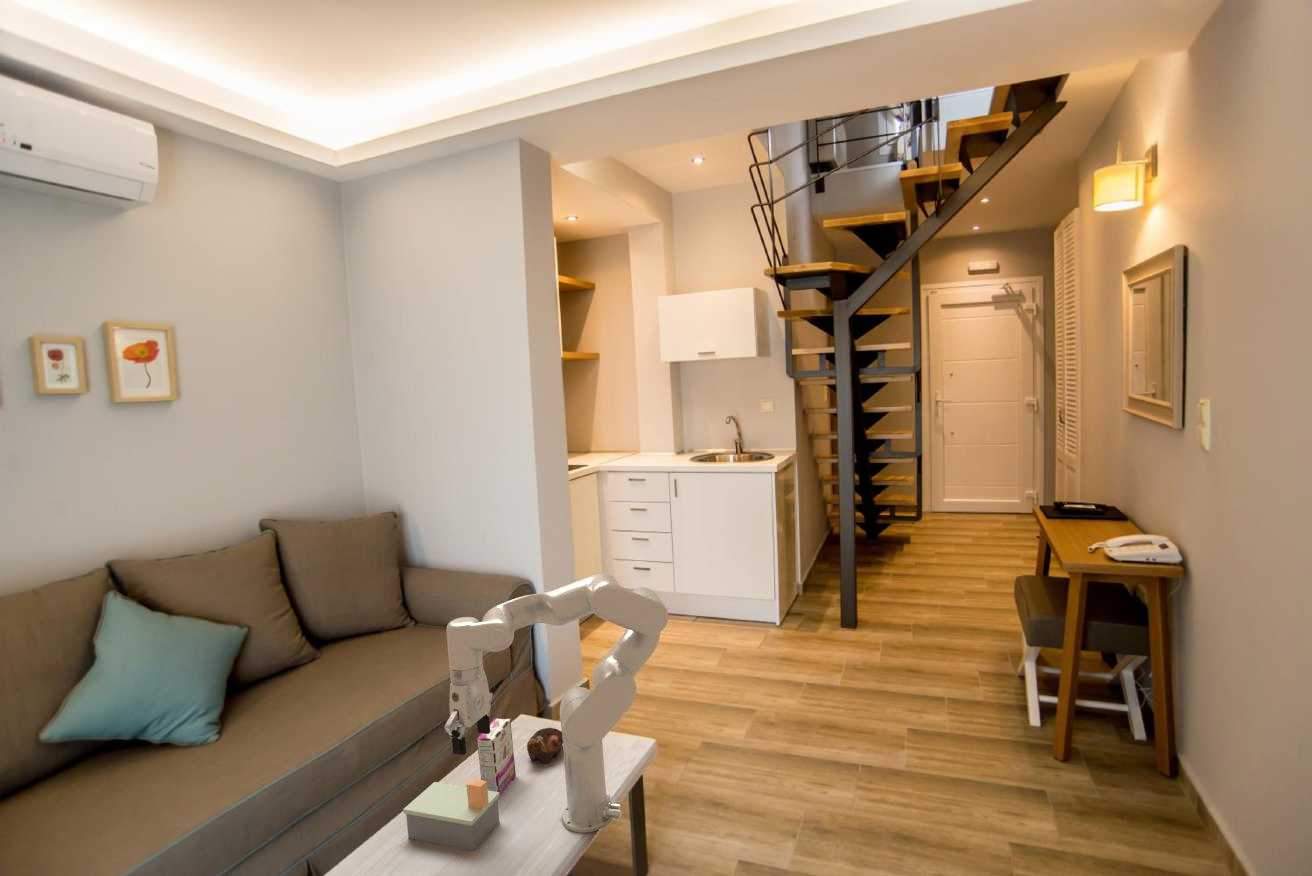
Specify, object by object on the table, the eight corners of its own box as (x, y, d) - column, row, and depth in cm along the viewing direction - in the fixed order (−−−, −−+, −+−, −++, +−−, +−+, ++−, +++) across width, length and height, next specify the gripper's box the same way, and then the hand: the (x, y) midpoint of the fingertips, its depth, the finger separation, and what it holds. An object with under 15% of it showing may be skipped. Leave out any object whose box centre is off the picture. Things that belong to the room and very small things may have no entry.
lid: (499, 796, 167) (497, 770, 167) (471, 825, 156) (469, 798, 156) (434, 785, 174) (432, 761, 173) (403, 813, 163) (401, 787, 162)
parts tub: (499, 824, 168) (497, 797, 167) (473, 854, 157) (470, 825, 157) (438, 813, 174) (435, 787, 173) (408, 841, 163) (406, 813, 163)
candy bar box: (499, 775, 190) (494, 717, 189) (516, 776, 189) (511, 718, 188) (481, 799, 179) (476, 738, 178) (499, 800, 178) (494, 739, 177)
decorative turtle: (517, 768, 193) (515, 739, 193) (546, 745, 206) (544, 718, 207) (547, 772, 189) (544, 743, 189) (574, 748, 203) (572, 720, 203)
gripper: (457, 689, 151) (463, 764, 152) (501, 659, 167) (506, 727, 168) (429, 686, 153) (435, 760, 154) (474, 656, 169) (479, 723, 171)
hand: (472, 743), depth 161 cm, fingers open, 9 cm apart
